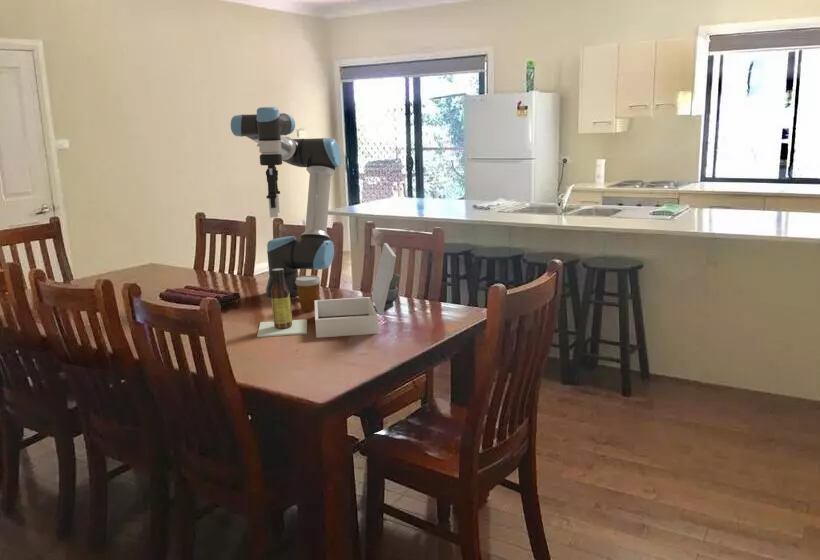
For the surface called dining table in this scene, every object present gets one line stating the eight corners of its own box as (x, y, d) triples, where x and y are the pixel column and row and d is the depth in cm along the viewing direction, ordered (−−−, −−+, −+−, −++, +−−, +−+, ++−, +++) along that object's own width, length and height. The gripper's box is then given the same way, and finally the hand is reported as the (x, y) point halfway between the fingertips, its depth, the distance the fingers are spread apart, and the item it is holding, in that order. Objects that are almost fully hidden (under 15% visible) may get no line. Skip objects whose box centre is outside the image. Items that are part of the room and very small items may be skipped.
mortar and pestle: (378, 310, 252) (377, 278, 249) (368, 305, 260) (367, 274, 258) (406, 306, 257) (405, 275, 254) (395, 301, 265) (394, 270, 262)
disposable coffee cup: (317, 313, 251) (315, 281, 248) (293, 312, 253) (290, 280, 250) (325, 306, 260) (324, 275, 258) (302, 305, 262) (300, 275, 259)
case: (315, 316, 246) (314, 300, 245) (370, 313, 249) (370, 296, 248) (316, 337, 221) (315, 319, 220) (378, 333, 224) (377, 315, 222)
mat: (260, 323, 239) (260, 322, 239) (306, 320, 241) (306, 319, 241) (257, 337, 223) (257, 335, 223) (306, 333, 225) (306, 332, 225)
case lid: (384, 242, 244) (387, 243, 244) (371, 296, 248) (374, 297, 248) (392, 255, 219) (396, 256, 219) (378, 315, 222) (382, 315, 223)
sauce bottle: (296, 326, 232) (292, 268, 228) (280, 330, 228) (276, 272, 224) (285, 323, 237) (281, 266, 233) (269, 326, 233) (265, 269, 228)
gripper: (261, 152, 247) (266, 211, 252) (256, 155, 223) (261, 220, 228) (282, 151, 248) (286, 210, 253) (280, 154, 224) (284, 218, 229)
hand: (274, 215), depth 240 cm, fingers open, 13 cm apart
